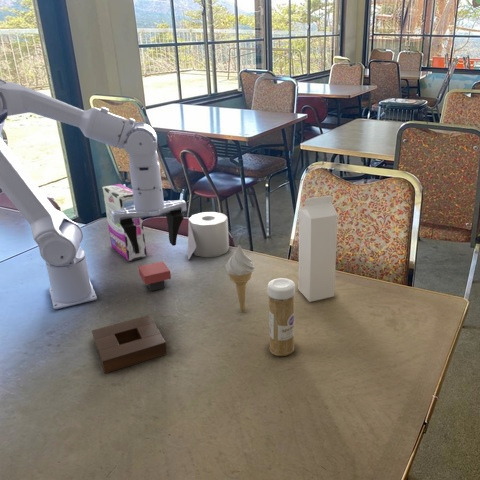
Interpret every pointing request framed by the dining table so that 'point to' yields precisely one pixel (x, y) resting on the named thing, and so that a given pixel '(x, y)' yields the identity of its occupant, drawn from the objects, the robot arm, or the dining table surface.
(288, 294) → the sprinkles bottle
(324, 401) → the dining table surface
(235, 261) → the ice cream cone
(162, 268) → the back pad
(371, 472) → the dining table surface
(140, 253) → the candy bar box
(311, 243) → the milk
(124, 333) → the block
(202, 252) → the toilet tissue
